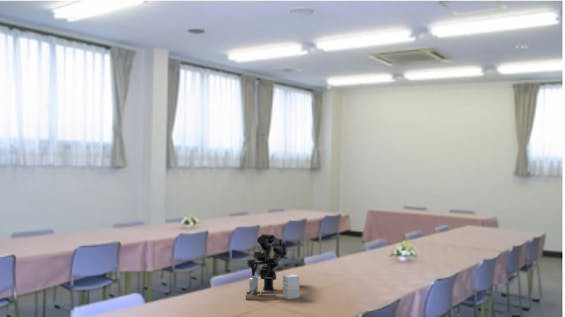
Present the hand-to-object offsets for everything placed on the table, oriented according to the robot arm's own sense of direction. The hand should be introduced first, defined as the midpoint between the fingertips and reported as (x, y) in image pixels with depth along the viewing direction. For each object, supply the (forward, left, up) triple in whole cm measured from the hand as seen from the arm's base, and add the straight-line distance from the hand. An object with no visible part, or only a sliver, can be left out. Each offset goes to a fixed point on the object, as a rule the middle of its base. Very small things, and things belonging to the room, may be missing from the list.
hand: (259, 275), depth 302 cm
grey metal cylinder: (+7, -4, -10) cm, 13 cm away
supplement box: (+7, +18, -11) cm, 23 cm away
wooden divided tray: (+7, +1, -11) cm, 13 cm away
